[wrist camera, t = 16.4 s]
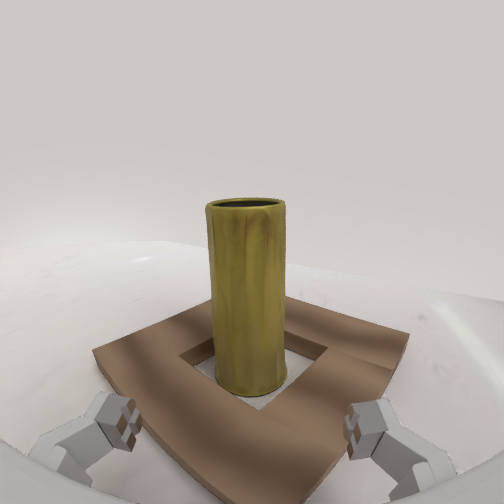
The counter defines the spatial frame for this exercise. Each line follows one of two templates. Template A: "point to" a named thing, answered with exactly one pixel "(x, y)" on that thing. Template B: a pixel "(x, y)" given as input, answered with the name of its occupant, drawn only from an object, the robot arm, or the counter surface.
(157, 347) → the socket
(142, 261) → the counter surface
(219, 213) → the vase
